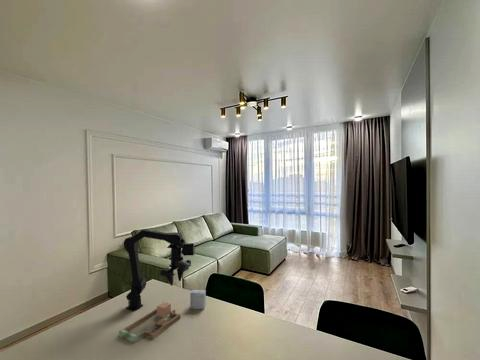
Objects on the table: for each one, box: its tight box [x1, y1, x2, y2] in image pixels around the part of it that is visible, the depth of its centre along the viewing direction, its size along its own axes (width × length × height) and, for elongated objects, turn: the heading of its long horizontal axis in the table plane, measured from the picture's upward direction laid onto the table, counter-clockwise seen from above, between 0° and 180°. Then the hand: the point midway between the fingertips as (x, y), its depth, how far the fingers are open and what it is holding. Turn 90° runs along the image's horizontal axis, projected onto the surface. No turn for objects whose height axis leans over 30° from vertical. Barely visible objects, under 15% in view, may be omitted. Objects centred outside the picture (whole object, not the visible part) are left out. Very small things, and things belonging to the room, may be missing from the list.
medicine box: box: [189, 289, 207, 310], centre depth 128 cm, size 8×4×9 cm, turn 84°
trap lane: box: [118, 308, 182, 344], centre depth 111 cm, size 16×25×2 cm, turn 154°
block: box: [156, 301, 172, 319], centre depth 120 cm, size 5×5×5 cm
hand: (175, 283), depth 129 cm, fingers open, 6 cm apart
